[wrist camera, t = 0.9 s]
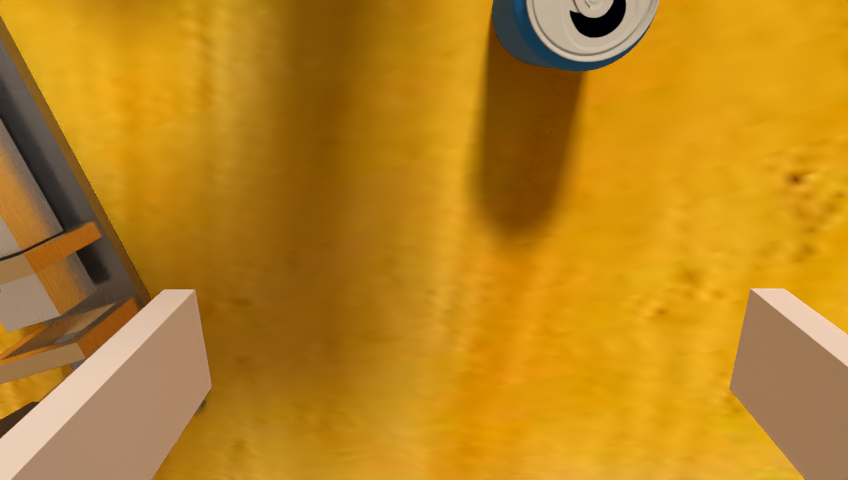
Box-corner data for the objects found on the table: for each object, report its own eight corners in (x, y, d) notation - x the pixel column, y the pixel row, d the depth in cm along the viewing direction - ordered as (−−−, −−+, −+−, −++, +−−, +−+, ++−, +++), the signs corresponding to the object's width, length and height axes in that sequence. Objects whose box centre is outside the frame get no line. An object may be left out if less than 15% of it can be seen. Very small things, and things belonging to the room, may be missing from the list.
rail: (-116, 35, 36) (-265, 31, 28) (-13, -7, 35) (-138, -23, 27) (119, 426, 46) (55, 501, 38) (206, 402, 45) (158, 474, 37)
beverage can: (517, 83, 36) (552, 99, 24) (473, -13, 34) (490, -45, 23) (610, 34, 35) (693, 26, 23) (570, -69, 33) (639, -131, 22)
